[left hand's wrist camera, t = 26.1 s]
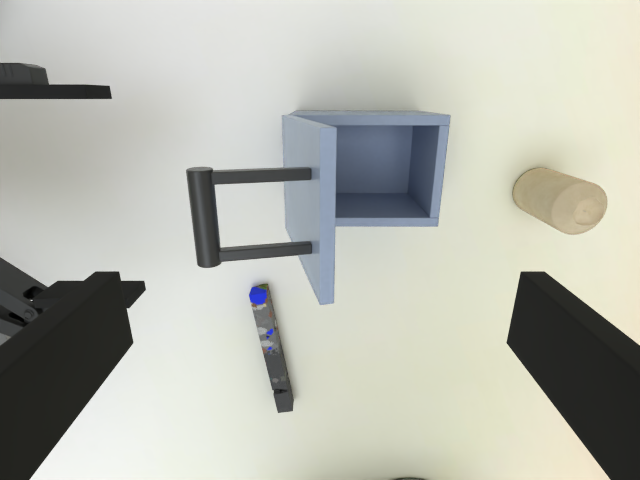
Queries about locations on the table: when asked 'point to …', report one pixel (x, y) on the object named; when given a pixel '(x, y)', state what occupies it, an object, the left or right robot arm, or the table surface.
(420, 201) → the chest
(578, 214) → the candle
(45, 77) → the right robot arm
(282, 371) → the pillar
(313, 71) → the table surface
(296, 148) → the lid
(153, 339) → the table surface
